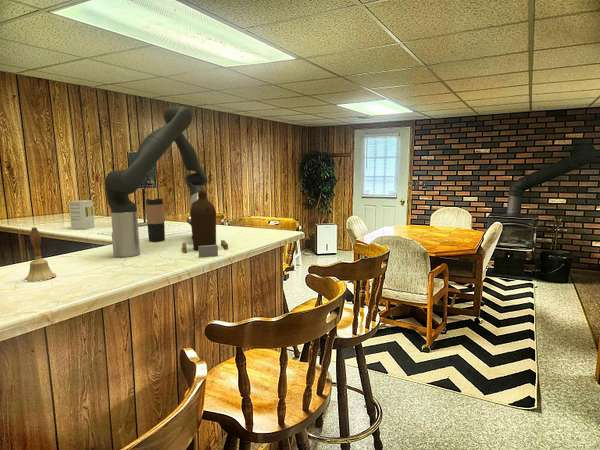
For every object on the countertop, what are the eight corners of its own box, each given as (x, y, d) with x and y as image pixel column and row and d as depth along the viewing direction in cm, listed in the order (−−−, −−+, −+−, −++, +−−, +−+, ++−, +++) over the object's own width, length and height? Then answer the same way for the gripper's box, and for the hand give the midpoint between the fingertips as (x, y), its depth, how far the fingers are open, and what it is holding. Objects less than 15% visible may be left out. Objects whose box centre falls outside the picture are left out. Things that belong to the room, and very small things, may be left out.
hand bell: (21, 283, 111) (14, 230, 109) (28, 276, 119) (22, 226, 117) (53, 280, 115) (48, 228, 113) (58, 273, 122) (53, 225, 120)
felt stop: (199, 257, 143) (198, 247, 142) (198, 256, 145) (198, 246, 144) (217, 255, 145) (217, 245, 144) (217, 254, 147) (216, 244, 146)
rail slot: (183, 253, 151) (182, 248, 151) (182, 247, 162) (182, 243, 162) (228, 249, 157) (228, 244, 157) (224, 244, 168) (224, 240, 168)
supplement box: (86, 229, 223) (83, 201, 220) (70, 229, 223) (68, 201, 221) (95, 227, 232) (92, 200, 230) (80, 227, 232) (77, 200, 230)
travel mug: (159, 242, 176) (156, 199, 173) (145, 242, 178) (142, 199, 175) (168, 239, 183) (165, 198, 181) (154, 239, 185) (151, 198, 182)
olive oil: (222, 247, 162) (220, 188, 159) (208, 251, 153) (204, 190, 149) (202, 245, 166) (199, 188, 163) (186, 250, 157) (183, 190, 153)
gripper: (184, 200, 171) (187, 230, 162) (214, 199, 176) (218, 228, 166) (184, 210, 177) (187, 240, 167) (213, 209, 181) (217, 238, 172)
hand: (202, 234), depth 167 cm, fingers closed
